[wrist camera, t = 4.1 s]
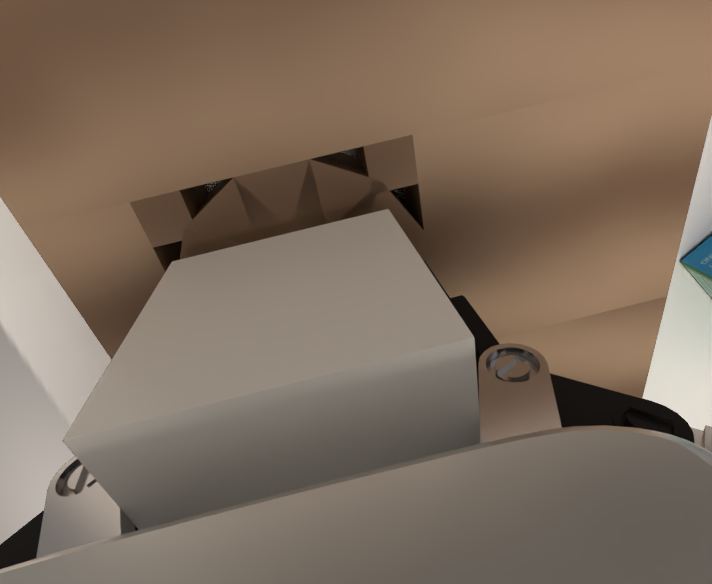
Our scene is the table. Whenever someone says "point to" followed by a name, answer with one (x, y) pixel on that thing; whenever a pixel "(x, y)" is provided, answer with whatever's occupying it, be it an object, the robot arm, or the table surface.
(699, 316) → the table surface
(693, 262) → the milk carton
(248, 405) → the cream cube
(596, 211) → the walnut board
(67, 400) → the table surface
